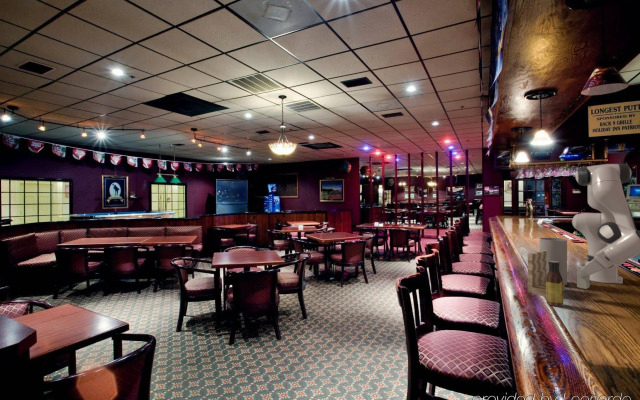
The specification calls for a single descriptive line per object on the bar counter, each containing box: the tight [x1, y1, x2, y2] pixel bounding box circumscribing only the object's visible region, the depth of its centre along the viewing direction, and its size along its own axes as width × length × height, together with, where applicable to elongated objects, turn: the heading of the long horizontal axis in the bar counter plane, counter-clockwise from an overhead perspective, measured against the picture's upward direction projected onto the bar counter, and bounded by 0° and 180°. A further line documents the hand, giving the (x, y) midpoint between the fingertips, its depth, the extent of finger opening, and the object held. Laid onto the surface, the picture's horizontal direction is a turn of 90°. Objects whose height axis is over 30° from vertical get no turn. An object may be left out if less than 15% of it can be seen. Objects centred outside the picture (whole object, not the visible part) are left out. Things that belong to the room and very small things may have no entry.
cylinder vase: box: [539, 237, 568, 286], centre depth 177 cm, size 12×12×25 cm
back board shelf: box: [527, 249, 565, 297], centre depth 162 cm, size 18×10×20 cm, turn 125°
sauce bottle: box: [545, 261, 564, 307], centre depth 143 cm, size 7×6×20 cm
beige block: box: [576, 262, 591, 290], centre depth 150 cm, size 5×4×12 cm
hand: (581, 275), depth 151 cm, fingers closed on beige block, 5 cm apart
